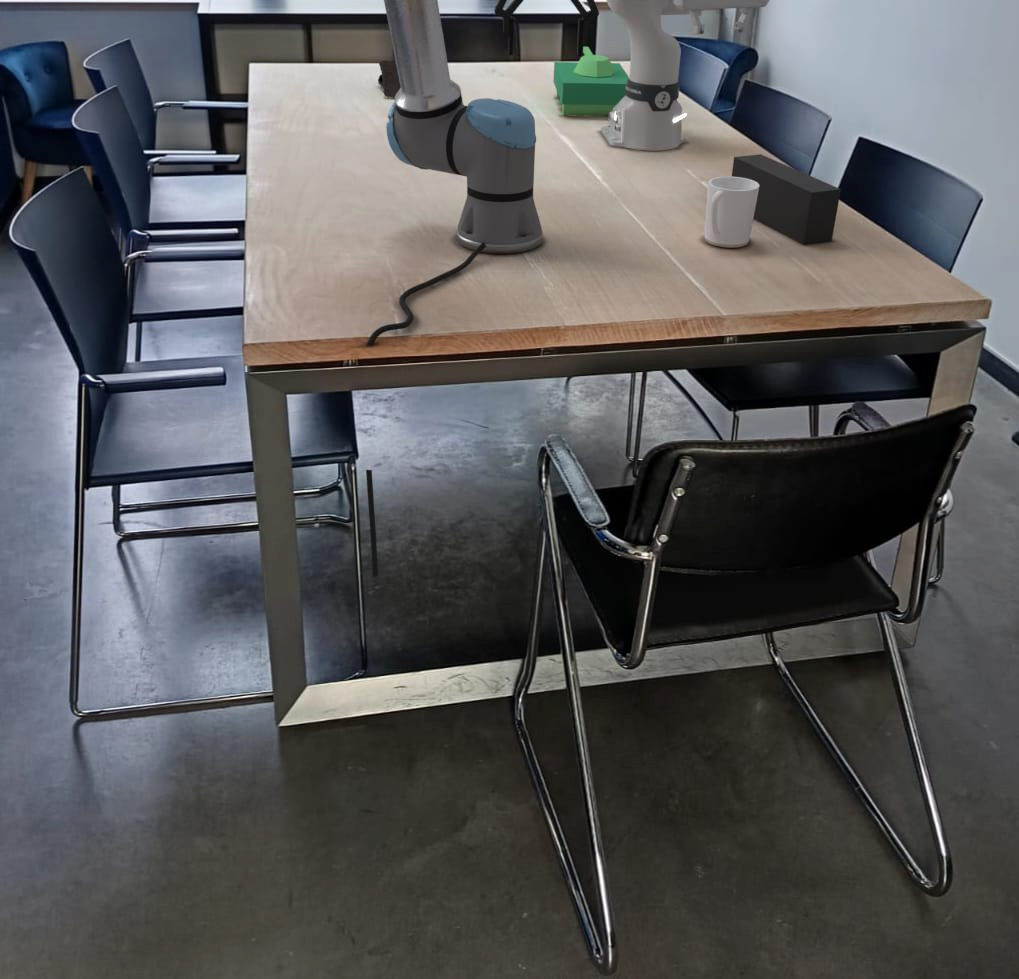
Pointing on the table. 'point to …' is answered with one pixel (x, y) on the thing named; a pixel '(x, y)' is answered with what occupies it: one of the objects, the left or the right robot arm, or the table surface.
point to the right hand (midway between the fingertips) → (718, 32)
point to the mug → (730, 211)
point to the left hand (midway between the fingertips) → (544, 54)
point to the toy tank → (589, 85)
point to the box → (790, 199)
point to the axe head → (389, 78)
